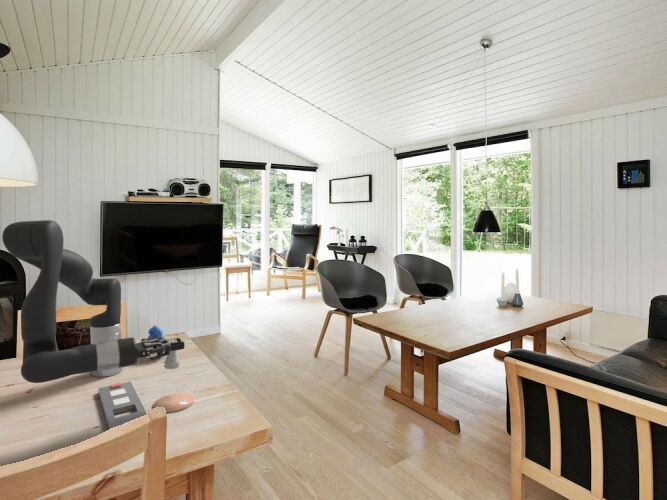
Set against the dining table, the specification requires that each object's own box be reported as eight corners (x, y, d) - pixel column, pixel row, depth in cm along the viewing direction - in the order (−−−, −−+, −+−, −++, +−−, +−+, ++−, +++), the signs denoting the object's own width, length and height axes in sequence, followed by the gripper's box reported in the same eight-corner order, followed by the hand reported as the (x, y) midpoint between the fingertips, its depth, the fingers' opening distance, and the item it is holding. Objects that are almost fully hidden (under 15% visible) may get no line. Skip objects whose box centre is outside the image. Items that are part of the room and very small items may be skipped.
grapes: (139, 355, 157) (138, 325, 156) (156, 351, 162) (155, 322, 161) (153, 362, 149) (152, 331, 149) (170, 357, 155) (169, 327, 154)
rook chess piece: (166, 364, 117) (166, 337, 117) (182, 363, 118) (182, 337, 117) (161, 369, 113) (161, 342, 112) (177, 369, 113) (177, 342, 113)
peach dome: (144, 409, 112) (144, 407, 112) (170, 393, 123) (170, 391, 123) (178, 414, 110) (178, 412, 110) (201, 397, 120) (201, 395, 120)
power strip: (98, 392, 123) (98, 386, 123) (130, 385, 128) (130, 379, 128) (111, 435, 99) (110, 427, 99) (150, 424, 104) (149, 417, 104)
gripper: (119, 347, 101) (188, 336, 110) (112, 334, 112) (175, 325, 122) (120, 376, 101) (189, 362, 111) (112, 360, 113) (176, 349, 123)
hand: (181, 343), depth 116 cm, fingers closed on rook chess piece, 3 cm apart
